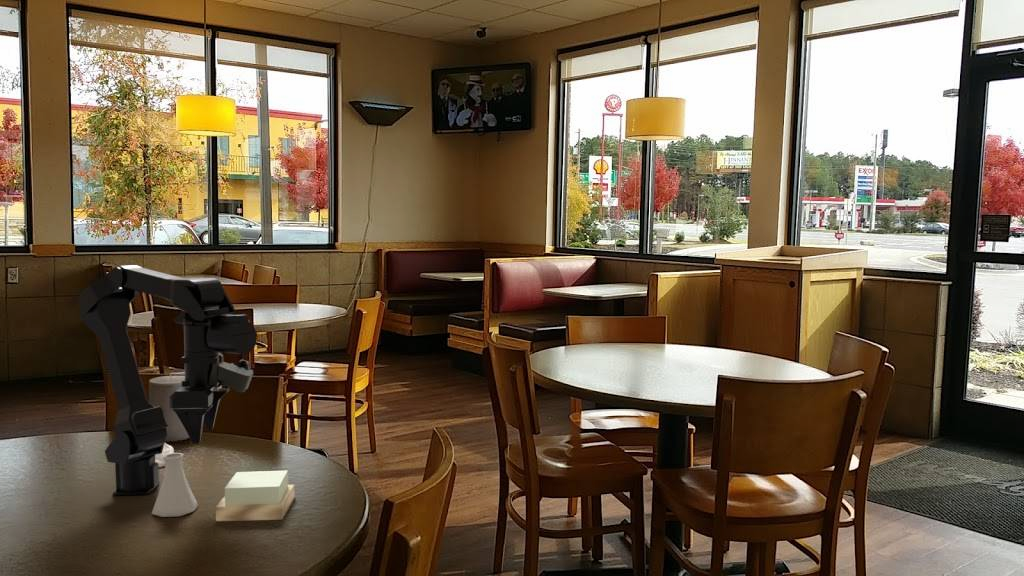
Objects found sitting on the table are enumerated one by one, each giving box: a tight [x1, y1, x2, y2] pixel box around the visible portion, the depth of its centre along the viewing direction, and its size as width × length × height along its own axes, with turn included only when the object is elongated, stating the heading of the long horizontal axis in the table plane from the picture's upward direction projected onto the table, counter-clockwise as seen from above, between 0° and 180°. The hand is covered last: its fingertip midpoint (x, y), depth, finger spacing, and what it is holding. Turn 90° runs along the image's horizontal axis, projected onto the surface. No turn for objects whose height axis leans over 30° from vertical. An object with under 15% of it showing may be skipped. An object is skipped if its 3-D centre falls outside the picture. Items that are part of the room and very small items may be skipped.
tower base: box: [215, 484, 296, 522], centre depth 143 cm, size 11×11×3 cm
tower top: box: [224, 469, 289, 506], centre depth 143 cm, size 9×9×3 cm
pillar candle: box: [148, 373, 190, 443], centre depth 191 cm, size 10×10×15 cm
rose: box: [155, 442, 175, 468], centre depth 171 cm, size 10×4×10 cm
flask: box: [151, 452, 199, 518], centre depth 142 cm, size 7×7×10 cm
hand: (203, 436), depth 145 cm, fingers open, 9 cm apart
